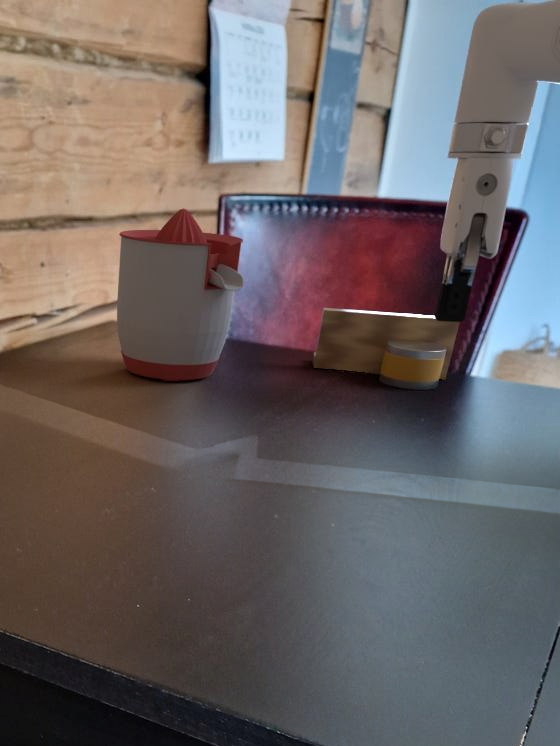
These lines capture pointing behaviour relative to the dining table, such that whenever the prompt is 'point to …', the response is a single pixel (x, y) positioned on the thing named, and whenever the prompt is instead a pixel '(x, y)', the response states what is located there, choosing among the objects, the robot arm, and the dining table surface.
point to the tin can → (412, 364)
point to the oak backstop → (375, 338)
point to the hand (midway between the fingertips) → (448, 320)
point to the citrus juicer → (176, 298)
